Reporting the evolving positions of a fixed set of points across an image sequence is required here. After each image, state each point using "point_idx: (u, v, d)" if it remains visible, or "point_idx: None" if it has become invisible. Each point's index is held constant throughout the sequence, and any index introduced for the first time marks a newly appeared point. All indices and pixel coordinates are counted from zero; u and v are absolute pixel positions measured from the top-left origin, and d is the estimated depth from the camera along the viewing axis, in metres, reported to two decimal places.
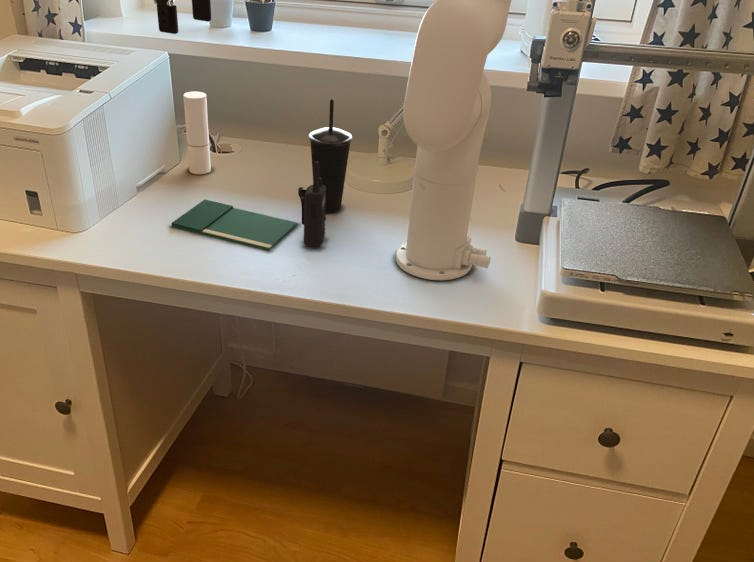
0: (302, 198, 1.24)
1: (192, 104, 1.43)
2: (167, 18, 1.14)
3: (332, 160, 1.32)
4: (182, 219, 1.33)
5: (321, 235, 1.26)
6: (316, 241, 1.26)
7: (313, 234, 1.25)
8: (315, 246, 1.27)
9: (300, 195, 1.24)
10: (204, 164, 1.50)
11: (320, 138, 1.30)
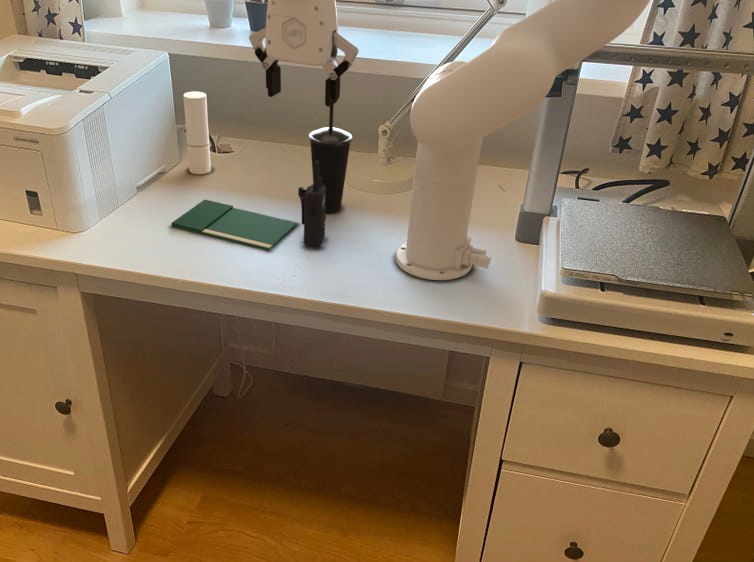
0: (302, 198, 1.24)
1: (192, 104, 1.43)
2: (266, 79, 1.16)
3: (332, 160, 1.32)
4: (182, 219, 1.33)
5: (321, 235, 1.26)
6: (316, 241, 1.26)
7: (313, 234, 1.25)
8: (315, 246, 1.27)
9: (300, 195, 1.24)
10: (204, 164, 1.50)
11: (320, 138, 1.30)
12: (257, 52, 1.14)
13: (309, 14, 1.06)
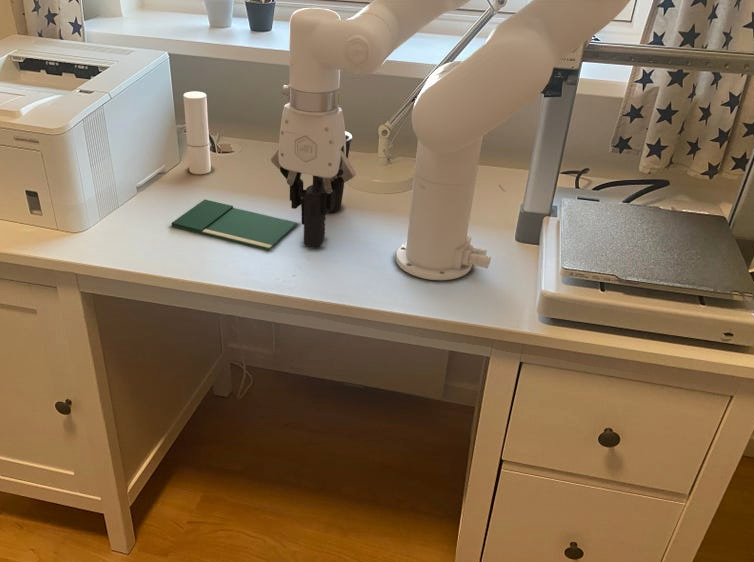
0: (302, 198, 1.24)
1: (192, 104, 1.43)
2: (290, 193, 1.25)
3: None
4: (182, 219, 1.33)
5: (321, 235, 1.26)
6: (316, 241, 1.26)
7: (313, 234, 1.25)
8: (315, 246, 1.27)
9: (300, 195, 1.24)
10: (204, 164, 1.50)
11: None
12: (282, 170, 1.23)
13: (320, 134, 1.15)
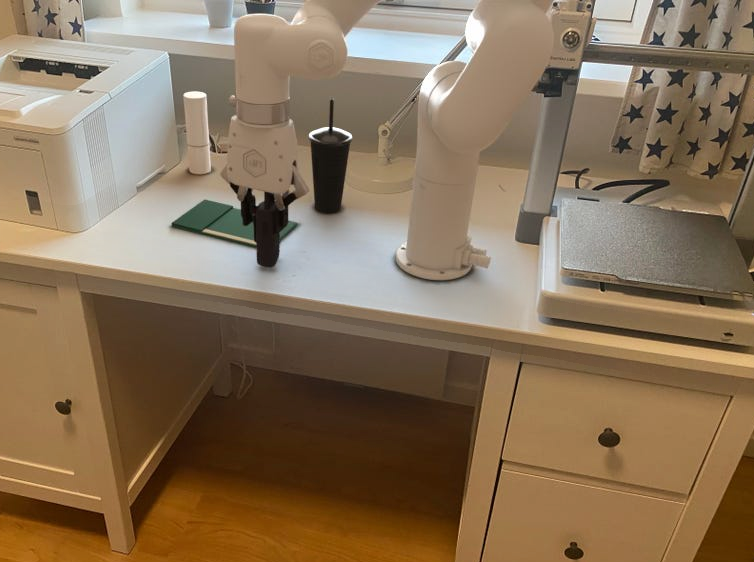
0: (253, 215, 1.17)
1: (192, 104, 1.43)
2: (241, 209, 1.18)
3: (332, 160, 1.32)
4: (182, 219, 1.33)
5: (274, 254, 1.19)
6: (269, 260, 1.19)
7: (265, 253, 1.18)
8: (268, 265, 1.20)
9: (252, 212, 1.17)
10: (204, 164, 1.50)
11: (320, 138, 1.30)
12: (232, 185, 1.15)
13: (269, 148, 1.07)
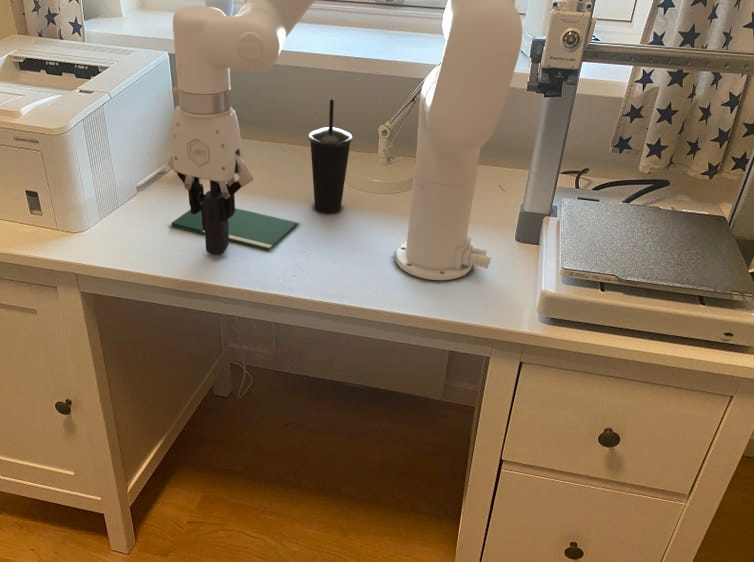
0: (201, 203, 1.20)
1: None
2: (189, 198, 1.20)
3: (332, 160, 1.32)
4: (182, 219, 1.33)
5: (222, 241, 1.22)
6: (217, 248, 1.22)
7: (213, 241, 1.21)
8: (217, 253, 1.22)
9: (199, 200, 1.19)
10: None
11: (320, 138, 1.30)
12: (179, 174, 1.18)
13: (211, 137, 1.10)
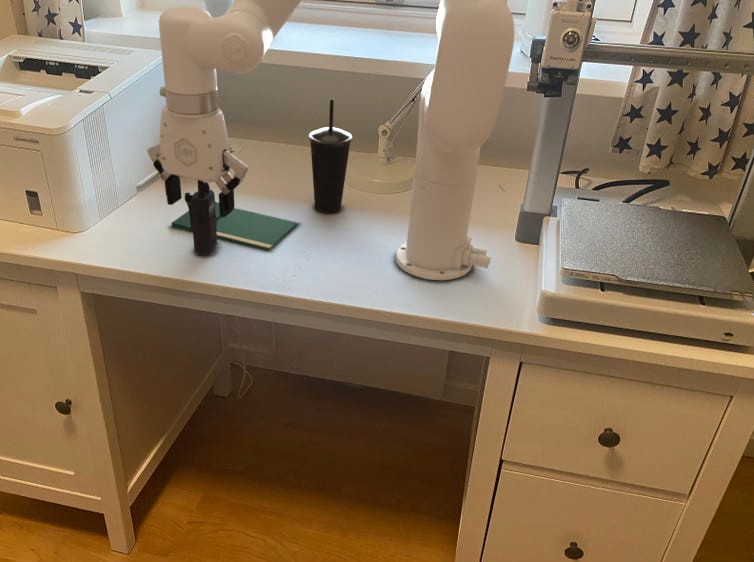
0: (189, 204, 1.21)
1: None
2: (166, 188, 1.21)
3: (332, 160, 1.32)
4: (182, 219, 1.33)
5: (211, 242, 1.23)
6: (206, 248, 1.23)
7: (201, 241, 1.22)
8: (205, 253, 1.23)
9: (187, 201, 1.20)
10: None
11: (320, 138, 1.30)
12: (155, 164, 1.19)
13: (198, 137, 1.11)
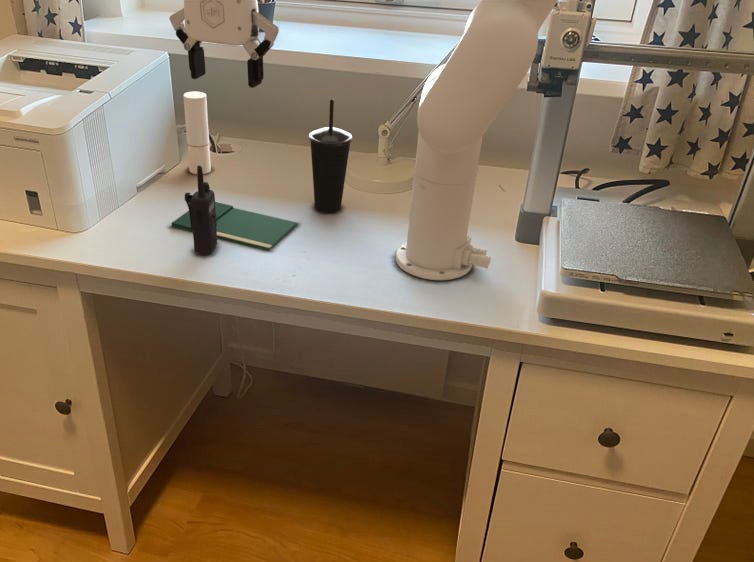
0: (189, 204, 1.21)
1: (192, 104, 1.43)
2: (189, 61, 1.14)
3: (332, 160, 1.32)
4: (182, 219, 1.33)
5: (211, 242, 1.23)
6: (206, 248, 1.23)
7: (201, 241, 1.22)
8: (205, 253, 1.23)
9: (187, 201, 1.20)
10: (204, 164, 1.50)
11: (320, 138, 1.30)
12: (178, 33, 1.11)
13: None
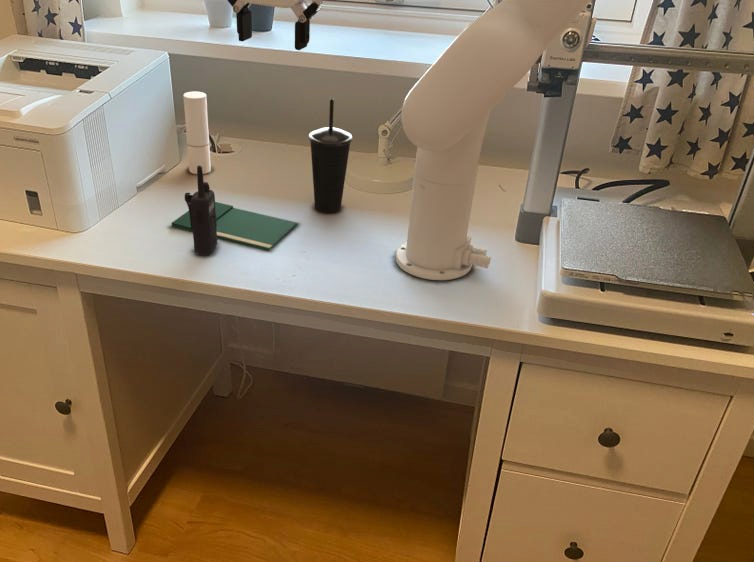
0: (189, 204, 1.21)
1: (192, 104, 1.43)
2: (237, 24, 1.17)
3: (332, 160, 1.32)
4: (182, 219, 1.33)
5: (210, 242, 1.23)
6: (205, 248, 1.23)
7: (201, 241, 1.22)
8: (205, 253, 1.23)
9: (187, 201, 1.20)
10: (204, 164, 1.50)
11: (320, 138, 1.30)
12: None
13: None
